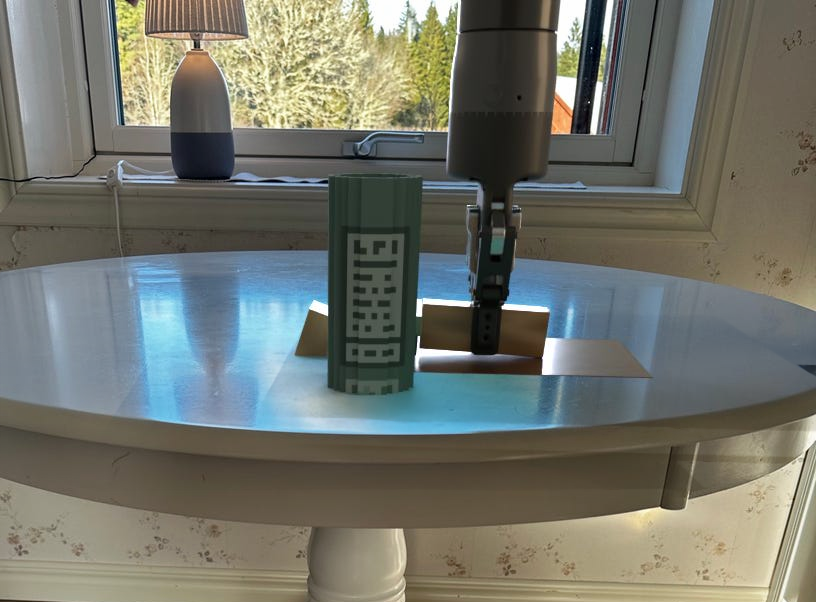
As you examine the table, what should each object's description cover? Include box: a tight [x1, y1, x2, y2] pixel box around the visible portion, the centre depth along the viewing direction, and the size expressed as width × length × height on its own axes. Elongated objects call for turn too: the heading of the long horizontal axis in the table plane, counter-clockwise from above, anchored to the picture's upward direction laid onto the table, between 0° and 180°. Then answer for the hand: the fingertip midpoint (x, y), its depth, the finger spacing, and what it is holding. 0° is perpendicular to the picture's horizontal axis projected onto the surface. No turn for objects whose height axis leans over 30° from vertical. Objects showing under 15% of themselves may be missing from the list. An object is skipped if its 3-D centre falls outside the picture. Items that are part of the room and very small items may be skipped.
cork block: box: [293, 300, 328, 357], centre depth 78 cm, size 4×4×4 cm
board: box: [414, 336, 654, 379], centre depth 78 cm, size 20×14×2 cm
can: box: [326, 172, 424, 396], centre depth 66 cm, size 6×6×15 cm
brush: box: [415, 298, 551, 357], centre depth 77 cm, size 15×8×4 cm, turn 86°
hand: (482, 349), depth 78 cm, fingers closed on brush, 2 cm apart
